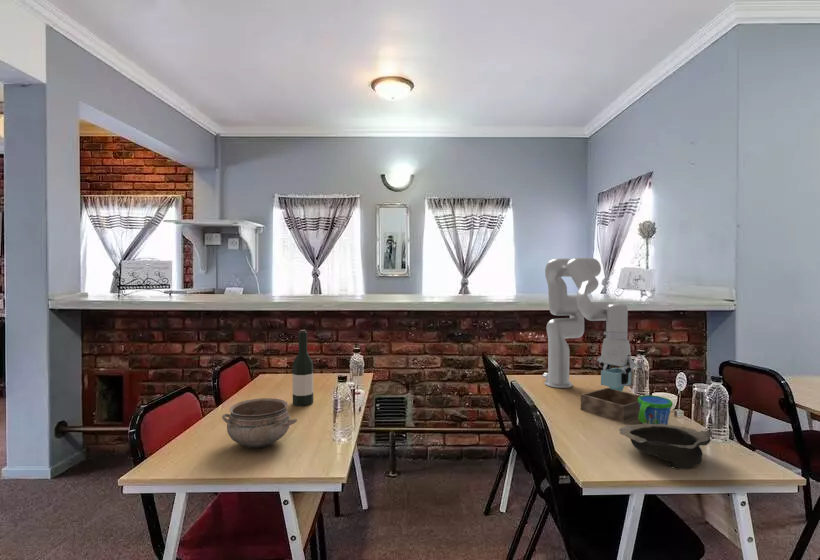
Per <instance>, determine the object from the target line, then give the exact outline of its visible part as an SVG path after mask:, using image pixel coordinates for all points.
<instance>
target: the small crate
mask: <svg viewBox="0 0 820 560" xmlns="http://www.w3.org/2000/svg"><path fill="white" fill-rule="evenodd" d="M622 374H623V371H622V369H621V368H620V367H613V368H610V369H607V370H603V369H602V370H600V386H604V387H607V388H609V387H612V388H620V387H624V388H625V387H627V386H631V385H632V371H631V372H630V373H628V383H627V384H622Z"/></svg>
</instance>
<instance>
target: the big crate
mask: <svg viewBox="0 0 820 560" xmlns="http://www.w3.org/2000/svg"><path fill="white" fill-rule="evenodd" d="M640 396H641V395H638V394H634V393H631V392H626V391H624V390H623V391H619V390H615V389H611V388H609V387H605V388H602V389H597V390H594V391H590V392H585V393H581V394H580V410H582V411H584V412H588V413H591V414H594V415H597V416H601V417H604V418H607V419H610V420H614V421H617V422H621V423H627V422H630V421H633V420H635V419H638V416H639V412H640V405H639V402H638V397H640Z"/></svg>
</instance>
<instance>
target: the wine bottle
mask: <svg viewBox="0 0 820 560" xmlns="http://www.w3.org/2000/svg"><path fill="white" fill-rule="evenodd" d="M313 403H314V361H313V359H312V358H311V356H310V355H309V353H308V331H307V330H306V329H299V332H298V353H297V355H296V357H295V359H294V361H293V362H292V405H294V406H296V407H307V406H311V405H313Z"/></svg>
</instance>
